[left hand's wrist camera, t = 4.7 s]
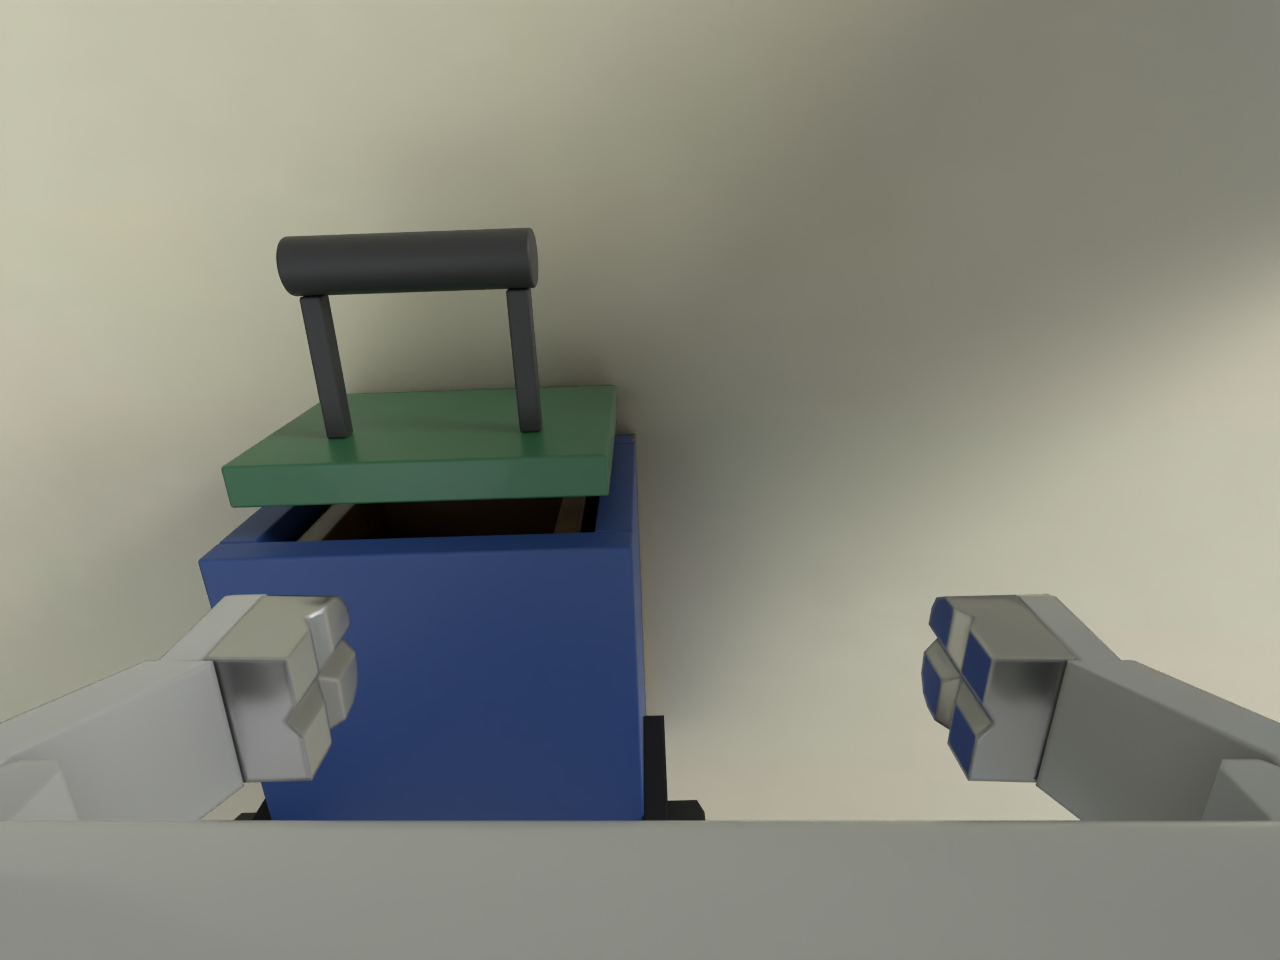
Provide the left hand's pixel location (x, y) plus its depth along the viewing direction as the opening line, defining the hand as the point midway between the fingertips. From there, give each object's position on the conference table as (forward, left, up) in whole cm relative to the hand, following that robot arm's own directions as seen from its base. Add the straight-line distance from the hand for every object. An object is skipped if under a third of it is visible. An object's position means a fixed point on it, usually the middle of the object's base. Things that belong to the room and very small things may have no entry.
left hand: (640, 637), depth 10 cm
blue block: (+8, -8, -18) cm, 21 cm away
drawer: (+3, -7, -17) cm, 18 cm away
